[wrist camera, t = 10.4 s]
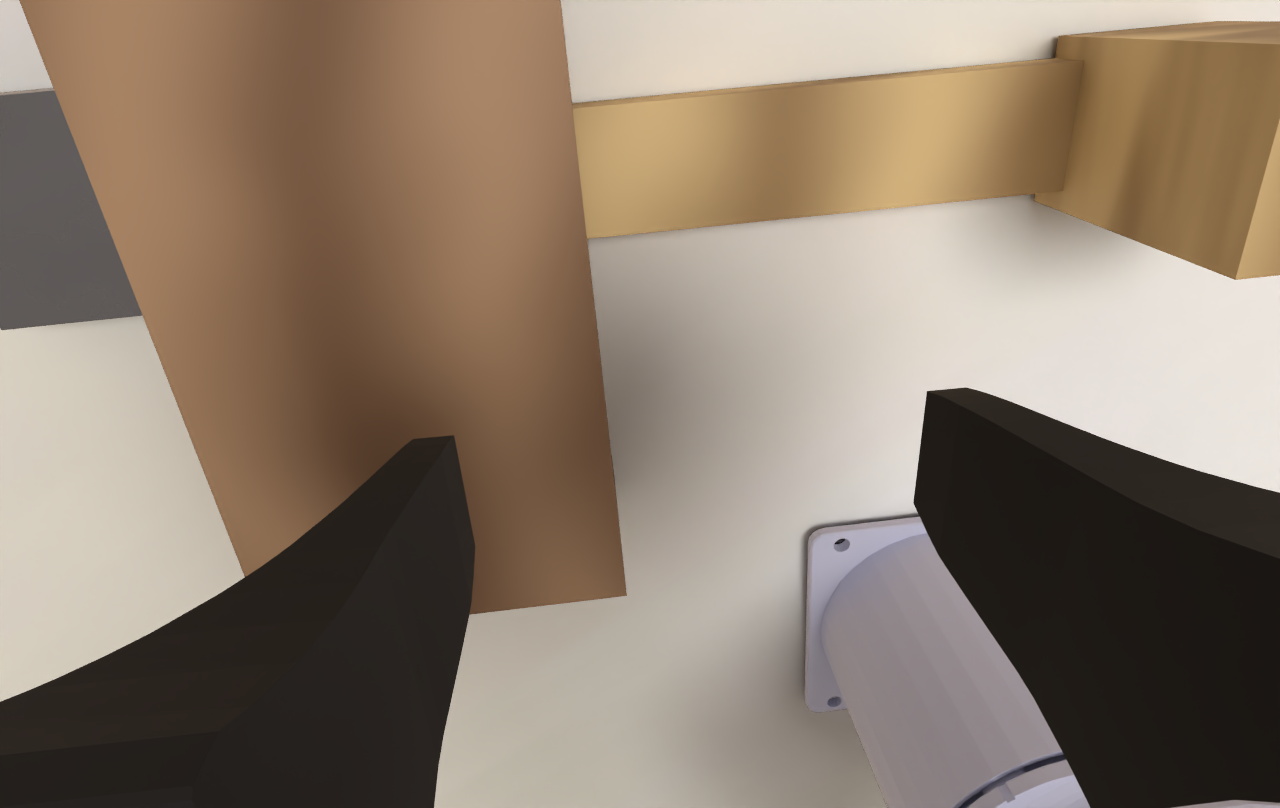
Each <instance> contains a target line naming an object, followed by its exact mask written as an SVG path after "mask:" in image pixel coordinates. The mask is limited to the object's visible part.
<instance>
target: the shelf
mask: <svg viewBox="0 0 1280 808" xmlns="http://www.w3.org/2000/svg"><path fill="white" fill-rule="evenodd" d="M19 1H20V3H21V6H22V8H23V11H24V13H25V16H26V19H27V21H28V24H29V26H30V29H31V31H32V34H33V36H34V39H35V42H36V44H37V47H38V49H39V52H40V54H41V57H42V59H43V62H44V65H45V67H46V70H47V72H48V75H49V77H50V80H51V82H52V85H53V88H54V90H55V93H56V95H57V98H58V100H59V103H60V105H61V108H62V111H63V113H64V116H65V118H66V121H67V123H68V126H69V128H70V131H71V134H72V136H73V139H74V141H75V144H76V146H77V149H78V151H79V154H80V157H81V159H82V162H83V164H84V167H85V169H86V172H87V174H88V177H89V180H90V182H91V185H92V187H93V190H94V192H95V195H96V197H97V200H98V203H99V205H100V208H101V210H102V213H103V215H104V218H105V220H106V223H107V226H108V228H109V231H110V233H111V236H112V238H113V241H114V243H115V246H116V249H117V251H118V254H119V256H120V259H121V261H122V264H123V266H124V269H125V272H126V274H127V277H128V279H129V282H130V284H131V287H132V289H133V292H134V295H135V297H136V300H137V302H138V305H139V307H140V310H141V312H142V315H143V318H144V320H145V323H146V325H147V328H148V330H149V333H150V335H151V338H152V341H153V343H154V346H155V348H156V351H157V353H158V356H159V358H160V361H161V364H162V366H163V369H164V371H165V374H166V376H167V379H168V381H169V384H170V387H171V389H172V392H173V394H174V397H175V399H176V402H177V404H178V407H179V410H180V412H181V415H182V417H183V420H184V422H185V425H186V427H187V430H188V433H189V435H190V438H191V440H192V443H193V445H194V448H195V450H196V453H197V456H198V458H199V461H200V463H201V466H202V468H203V471H204V473H205V476H206V479H207V481H208V484H209V486H210V489H211V491H212V494H213V496H214V499H215V502H216V504H217V507H218V509H219V512H220V514H221V517H222V519H223V522H224V525H225V527H226V530H227V532H228V535H229V537H230V540H231V542H232V545H233V548H234V550H235V553H236V555H237V558H238V560H239V563H240V565H241V568H242V571H243V573H244V576H245V577H246V576H248V575H249V574H251V573H252V572H254V571H255V570H257V569H258V568H260V567H261V566H263V565H264V564H265V563H267V562H268V561H270V560H271V559H272V558H274V557H275V556H277V555H278V554H279V553H281V552H282V551H283V550H285V549H286V548H287V547H289V546H290V545H291V544H293V543H294V542H295V541H296V540H298V539H299V538H300V537H301V536H302V535H304V534H305V533H306V532H307V531H309V530H310V529H311V528H312V527H313V526H315V525H316V524H317V523H318V522H320V521H321V520H322V519H323V518H324V517H326V516H327V515H328V514H329V513H331V512H332V511H333V510H334V509H335V508H337V507H338V506H339V505H340V504H341V503H342V502H344V501H345V500H346V499H347V498H348V497H349V496H350V495H351V494H352V493H353V492H355V491H356V490H357V489H358V488H359V487H360V486H361V485H362V484H363V483H364V482H366V481H367V480H368V479H369V478H370V477H371V476H372V475H373V474H374V473H375V472H376V471H377V470H379V469H380V468H381V467H382V466H383V465H384V464H385V463H386V462H387V461H388V460H389V459H390V458H391V457H392V456H394V455H395V454H396V453H397V452H398V451H399V450H400V449H401V448H402V447H404V446H405V445H406V444H407V443H408V442H410V441H411V440H412V439H418V438H429V437H440V436H450V435H454V437H455V442H456V448H457V453H458V458H459V463H460V469H461V474H462V479H463V484H464V490H465V495H466V500H467V505H468V510H469V516H470V521H471V526H472V531H473V537H474V542H475V562H474V578H473V590H472V602H471V608H470V613H469V614H477V613H485V612H494V611H502V610H511V609H519V608H527V607H536V606H544V605H552V604H561V603H569V602H577V601H586V600H594V599H603V598H611V597H619V596H627V595H626V585H625V576H624V566H623V556H622V547H621V537H620V528H619V518H618V509H617V499H616V490H615V481H614V472H613V463H612V456H611V449H610V440H609V431H608V422H607V413H606V404H605V396H604V387H603V378H602V369H601V360H600V351H599V342H598V333H597V324H596V315H595V306H594V297H593V288H592V279H591V270H590V261H589V252H588V243H587V234H586V225H585V216H584V207H583V198H582V189H581V180H580V171H579V162H578V154H577V145H576V136H575V127H574V118H573V109H572V100H571V91H570V82H569V73H568V64H567V55H566V46H565V37H564V28H563V19H562V10H561V1H560V0H19Z"/></svg>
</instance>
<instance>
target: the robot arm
mask: <svg viewBox="0 0 1280 808" xmlns="http://www.w3.org/2000/svg"><path fill="white" fill-rule="evenodd" d="M914 505H915V507H916V509H917V512H918V514H919V516H920V517H912V518H903V519H895V520H886V521H878V522H869V523H861V524H852V525H843V526H835V527H826V528H821V529H818V530H816V531H815V532H813V533H812V535H811V536H810V537H809V541H808V569H807V612H806V656H805V701H806V704H807V707H808V709H810V710H811V711H813V712H827V711H835V710H843V709H848V711H849V714H850V716H851V719H852V721H853V724H854V726H855V729H856V731H857V734H858V736H859V739H860V741H861V744H862V746H863V748H864V751H865V753H866V756H867V758H868V761H869V763H870V766H871V768H872V771H873V773H874V776H875V778H876V780H877V783H878V785H879V788H880V790H881V793H882V795H883V798H884V800H885V803H886V805H887V808H1280V493H1278V492H1274V491H1270V490H1266V489H1262V488H1258V487H1254V486H1250V485H1247V484H1243V483H1240V482H1236V481H1233V480H1229V479H1225V478H1222V477H1218V476H1215V475H1211V474H1207V473H1204V472H1200V471H1197V470H1194V469H1191V468H1187V467H1184V466H1181V465H1178V464H1175V463H1172V462H1169V461H1166V460H1163V459H1160V458H1157V457H1154V456H1151V455H1148V454H1145V453H1143V452H1140V451H1137V450H1134V449H1131V448H1128V447H1125V446H1123V445H1120V444H1117V443H1114V442H1112V441H1109V440H1106V439H1104V438H1101V437H1098V436H1096V435H1093V434H1091V433H1088V432H1086V431H1083V430H1080V429H1078V428H1075V427H1073V426H1070V425H1068V424H1065V423H1063V422H1060V421H1058V420H1055V419H1053V418H1050V417H1048V416H1045V415H1043V414H1040V413H1038V412H1035V411H1033V410H1030V409H1028V408H1025V407H1022V406H1020V405H1017V404H1015V403H1012V402H1010V401H1007V400H1004V399H1001V398H999V397H996V396H993V395H990V394H987V393H984V392H981V391H977V390H973V389H969V388H957V389H947V390H936V391H927V397H926V405H925V413H924V421H923V429H922V438H921V446H920V454H919V462H918V470H917V479H916V487H915V495H914ZM842 538H844V539H845V541H844V542H842V543H840V544H835V542H836V541H837V540H839V539H842ZM474 562H475V542H474V537H473V531H472V526H471V521H470V516H469V510H468V505H467V500H466V495H465V490H464V484H463V479H462V474H461V469H460V463H459V458H458V453H457V448H456V442H455V437H454V435H450V436H440V437H429V438H418V439H412V440H411V441H410V442H408V443H407V444H406V445H405V446H404V447H402V448H401V449H400V450H399V451H398V452H397V453H396V454H395V455H394V456H392V457H391V458H390V459H389V460H388V461H387V462H386V463H385V464H384V465H383V466H382V467H381V468H380V469H379V470H377V471H376V472H375V473H374V474H373V475H372V476H371V477H370V478H369V479H368V480H367V481H366V482H364V483H363V484H362V485H361V486H360V487H359V488H358V489H357V490H356V491H355V492H353V493H352V494H351V495H350V496H349V497H348V498H347V499H346V500H345V501H344V502H342V503H341V504H340V505H339V506H338V507H337V508H335V509H334V510H333V511H332V512H331V513H329V514H328V515H327V516H326V517H324V518H323V519H322V520H321V521H320V522H318V523H317V524H316V525H315V526H313V527H312V528H311V529H310V530H309V531H307V532H306V533H305V534H304V535H302V536H301V537H300V538H299V539H298V540H296V541H295V542H294V543H293V544H291V545H290V546H289V547H287V548H286V549H285V550H283V551H282V552H281V553H279V554H278V555H277V556H275V557H274V558H272V559H271V560H270V561H268V562H267V563H265V564H264V565H263V566H261V567H260V568H258V569H257V570H255V571H254V572H252V573H251V574H249V575H248V576H246V577H245V578H243V579H242V580H240V581H239V582H237V583H236V584H234V585H233V586H231V587H230V588H228V589H226V590H225V591H223V592H222V593H220V594H218V595H217V596H215V597H213V598H211V599H210V600H208V601H206V602H204V603H203V604H201V605H199V606H197V607H196V608H194V609H192V610H190V611H189V612H187V613H185V614H183V615H182V616H180V617H178V618H176V619H175V620H173V621H171V622H169V623H168V624H166V625H164V626H162V627H161V628H159V629H157V630H155V631H154V632H152V633H150V634H148V635H146V636H144V637H142V638H140V639H138V640H136V641H134V642H132V643H130V644H128V645H126V646H124V647H122V648H120V649H118V650H116V651H114V652H112V653H110V654H108V655H106V656H104V657H102V658H100V659H98V660H96V661H94V662H91V663H89V664H87V665H85V666H83V667H81V668H79V669H76V670H74V671H72V672H70V673H68V674H66V675H63V676H61V677H59V678H57V679H54V680H52V681H50V682H48V683H45V684H43V685H41V686H38V687H36V688H34V689H31V690H29V691H26V692H24V693H21V694H19V695H16V696H14V697H11V698H9V699H6V700H4V701H1V702H0V808H434V801H435V792H436V782H437V773H438V764H439V758H440V752H441V747H442V741H443V735H444V730H445V725H446V721H447V716H448V712H449V707H450V702H451V698H452V693H453V688H454V684H455V679H456V675H457V670H458V665H459V661H460V656H461V652H462V647H463V642H464V637H465V633H466V628H467V623H468V618H469V613H470V608H471V602H472V590H473V578H474ZM834 696H836V697H834ZM831 697H834V698H831Z"/></svg>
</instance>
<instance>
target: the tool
mask: <svg viewBox="0 0 1280 808" xmlns="http://www.w3.org/2000/svg"><path fill="white" fill-rule="evenodd" d="M572 109H573V118H574V127H575V136H576V145H577V154H578V162H579V171H580V180H581V189H582V198H583V207H584V216H585V225H586V234H587V239H590V238H600V237H610V236H620V235H630V234H640V233H650V232H660V231H670V230H679V229H689V228H699V227H709V226H719V225H729V224H739V223H749V222H759V221H769V220H779V219H789V218H799V217H809V216H818V215H828V214H838V213H848V212H858V211H868V210H878V209H888V208H898V207H908V206H918V205H928V204H938V203H947V202H957V201H967V200H977V199H987V198H997V197H1007V196H1017V195H1027V194H1035V199H1034V201H1036V202H1038V203H1041V204H1043V205H1046V206H1049V207H1051V208H1054V209H1056V210H1059V211H1061V212H1064V213H1066V214H1069V215H1071V216H1074V217H1077V218H1079V219H1082V220H1084V221H1087V222H1089V223H1092V224H1094V225H1097V226H1100V227H1102V228H1105V229H1107V230H1110V231H1112V232H1115V233H1117V234H1120V235H1122V236H1125V237H1128V238H1130V239H1133V240H1135V241H1138V242H1140V243H1143V244H1145V245H1148V246H1151V247H1153V248H1156V249H1158V250H1161V251H1163V252H1166V253H1168V254H1171V255H1173V256H1176V257H1179V258H1181V259H1184V260H1186V261H1189V262H1191V263H1194V264H1196V265H1199V266H1202V267H1204V268H1207V269H1209V270H1212V271H1214V272H1217V273H1219V274H1222V275H1224V276H1227V277H1230V278H1232V279H1235V280H1238V279H1247V278H1257V277H1266V276H1275V275H1280V22H1252V21H1214V22H1203V23H1192V24H1182V25H1171V26H1160V27H1149V28H1138V29H1128V30H1117V31H1106V32H1095V33H1084V34H1073V35H1063V36H1059V37H1058V43H1057V50H1056V57H1055V58H1052V59H1041V60H1031V61H1020V62H1009V63H999V64H988V65H977V66H967V67H956V68H945V69H935V70H924V71H913V72H903V73H892V74H881V75H870V76H860V77H849V78H838V79H828V80H817V81H806V82H796V83H785V84H774V85H764V86H753V87H742V88H732V89H721V90H710V91H700V92H689V93H678V94H668V95H657V96H646V97H636V98H625V99H614V100H604V101H593V102H582V103H572Z"/></svg>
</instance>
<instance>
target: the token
mask: <svg viewBox="0 0 1280 808" xmlns="http://www.w3.org/2000/svg"><path fill="white" fill-rule="evenodd" d="M141 315H142V312H141V310H140V307H139V305H138V302H137V300H136V297H135V295H134V292H133V289H132V287H131V284H130V282H129V279H128V277H127V274H126V272H125V269H124V266H123V264H122V261H121V259H120V256H119V254H118V251H117V249H116V246H115V243H114V241H113V238H112V236H111V233H110V231H109V228H108V226H107V223H106V220H105V218H104V215H103V213H102V210H101V208H100V205H99V203H98V200H97V197H96V195H95V192H94V190H93V187H92V185H91V182H90V180H89V177H88V174H87V172H86V169H85V167H84V164H83V162H82V159H81V157H80V154H79V151H78V149H77V146H76V144H75V141H74V139H73V136H72V134H71V131H70V128H69V126H68V123H67V121H66V118H65V116H64V113H63V111H62V108H61V105H60V103H59V100H58V98H57V95H56V93H55V90H54V88H47V89H36V90H25V91H14V92H3V93H0V328H1V330H7V329H17V328H26V327H36V326H46V325H55V324H65V323H74V322H84V321H93V320H103V319H113V318H122V317H132V316H141Z"/></svg>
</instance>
